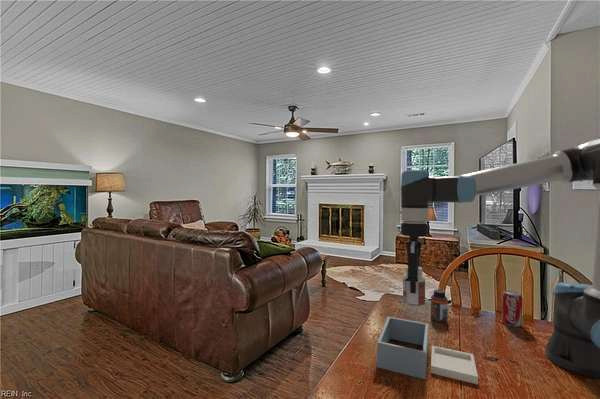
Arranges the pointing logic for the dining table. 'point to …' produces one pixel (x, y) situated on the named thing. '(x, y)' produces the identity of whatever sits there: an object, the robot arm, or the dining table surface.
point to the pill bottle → (420, 289)
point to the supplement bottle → (439, 306)
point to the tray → (454, 364)
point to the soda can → (512, 308)
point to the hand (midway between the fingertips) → (414, 299)
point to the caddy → (402, 356)
